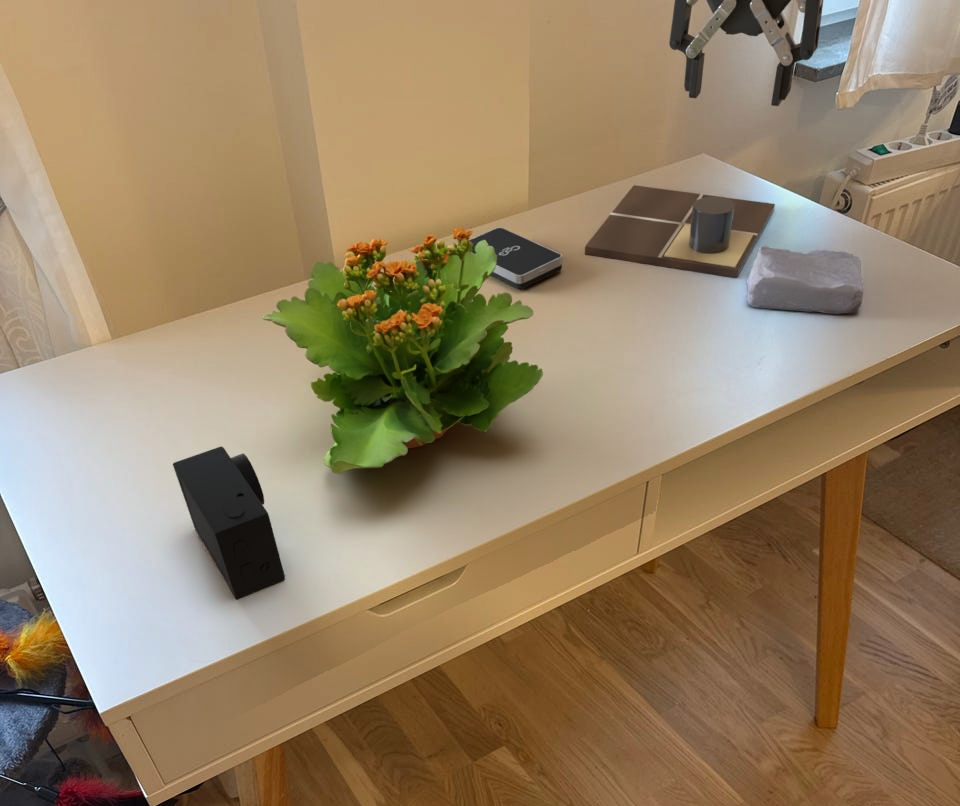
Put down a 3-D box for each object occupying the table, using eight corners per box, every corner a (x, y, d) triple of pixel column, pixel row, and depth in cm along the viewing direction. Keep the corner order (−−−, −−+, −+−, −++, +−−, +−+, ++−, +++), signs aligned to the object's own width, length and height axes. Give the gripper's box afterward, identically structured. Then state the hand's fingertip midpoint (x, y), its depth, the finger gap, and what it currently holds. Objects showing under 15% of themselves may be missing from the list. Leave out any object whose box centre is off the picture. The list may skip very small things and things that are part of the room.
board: (773, 211, 118) (775, 202, 117) (736, 278, 107) (738, 268, 107) (633, 192, 124) (633, 183, 123) (584, 254, 113) (584, 244, 112)
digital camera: (300, 575, 78) (283, 507, 73) (236, 600, 76) (215, 533, 71) (254, 506, 84) (235, 439, 79) (194, 528, 82) (171, 461, 77)
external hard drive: (500, 242, 116) (499, 226, 115) (565, 272, 110) (565, 255, 109) (456, 262, 113) (455, 245, 112) (520, 294, 107) (520, 277, 106)
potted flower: (241, 398, 95) (194, 223, 83) (443, 323, 104) (429, 153, 91) (361, 533, 81) (327, 345, 68) (585, 432, 89) (593, 248, 76)
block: (745, 283, 110) (742, 309, 102) (753, 238, 107) (752, 262, 99) (852, 294, 108) (858, 322, 100) (864, 250, 105) (872, 275, 97)
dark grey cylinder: (733, 238, 111) (739, 199, 108) (723, 256, 109) (729, 216, 105) (694, 233, 113) (699, 194, 109) (683, 250, 110) (688, 210, 107)
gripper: (671, -88, 88) (657, 106, 100) (832, -83, 83) (797, 119, 95) (694, -105, 92) (678, 82, 104) (848, -102, 88) (812, 93, 100)
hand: (735, 99), depth 100 cm, fingers open, 8 cm apart
